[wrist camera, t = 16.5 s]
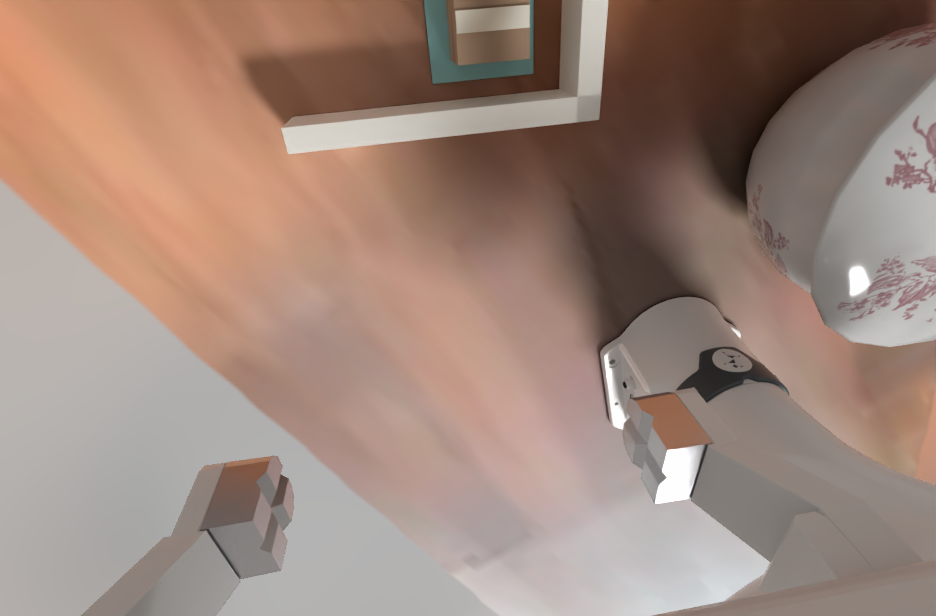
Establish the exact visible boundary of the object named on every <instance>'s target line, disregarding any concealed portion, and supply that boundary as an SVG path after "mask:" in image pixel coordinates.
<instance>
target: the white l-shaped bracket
mask: <svg viewBox="0 0 936 616" xmlns="http://www.w3.org/2000/svg"><path fill="white" fill-rule="evenodd" d="M607 12H608V0H562V13H561V46H560V79H559V89H555V90H546V91H536V92H526V93H517V94H507V95H498V96H488V97H478V98H469V99H459V100H450V101H440V102H430V103H421V104H411V105H402V106H392V107H382V108H373V109H363V110H354V111H344V112H334V113H325V114H315V115H306V116H296V117H292V118H291V119H290V120H289V121H288V122H287V123H286V124H285V125H284V126H283V127H282V128H281V130H282V133H283V137H284V140H285V144H286V147H287V151H288V154H295V153H304V152H313V151H322V150H331V149H340V148H349V147H358V146H367V145H376V144H385V143H394V142H403V141H413V140H422V139H431V138H440V137H449V136H458V135H467V134H476V133H485V132H494V131H503V130H512V129H521V128H531V127H540V126H549V125H558V124H567V123H576V122H585V121H594V120H599V116H600V103H601V90H602V77H603V64H604V51H605V38H606V25H607Z"/></svg>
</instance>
